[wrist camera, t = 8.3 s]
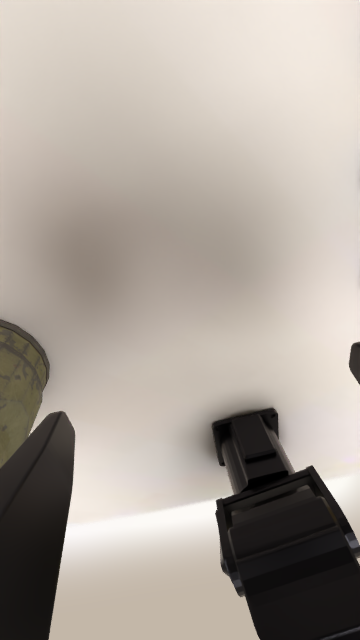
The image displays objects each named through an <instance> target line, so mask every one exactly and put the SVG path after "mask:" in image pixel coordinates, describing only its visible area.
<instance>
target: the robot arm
mask: <svg viewBox="0 0 360 640" xmlns="http://www.w3.org/2000/svg"><path fill="white" fill-rule="evenodd" d="M349 367H350V370H351V372H352V374H353V375H354V377H355V378H356V380H357V381H358V383H359V384H360V342H356V343H354V344H353V345H352V346H351V353H350V360H349ZM212 429H213V434H214V440H215V445H216V450H217V455H218V460H219V464H220V466H226V469H227V472H228V476H229V479H230V482H231V486H232V489H233V493H234V495H232V496H230V497H227V498H224V499H222V498H220V499H218V500H216V504H217V510H216V513H215V514H216V518H217V523H218V528H219V535H220V554H221V555H220V556H221V567H222V570H223V572H224V573H225V574H227V575H228V576H229V577H230V579H231V581H232V583H233V584H234V587H235V589H236V591H237V593H238V595H239V596H240V597H243V596H245V597H246V600H247V603H248V607H249V610H250V613H251V617H252V620H253V623H254V626H255V629H256V631H257V635H258V637H259V638H260V640H360V565H359V563H358V561H357V558H360V545H359V543H358V540H357V538H356V536H355V534H354V532H353V530H352V528H351V526H350V524H349V522H348V520H347V519H346V517H345V515H344V514H343V512H342V510H341V508H340V507H339V505H338V503H337V502H336V501H335V499H334V498H333V496H332V494H331V493H330V491H329V490H328V488H327V487H326V485H325V484H324V482H323V481H322V479H321V478H320V476H319V475H318V473H317V472H316V470H315V469H314V467H313V466H309V467H306V469H304V470H301V471H299V472H296V473H295V471H294V469H293V467H292V465H291V463H290V461H289V459H288V457H287V455H286V453H285V451H284V449H283V447H282V446H281V444H280V442H279V437H278V413H277V412H276V410H275V409H269V410H265V411H261V412H257V413H253V414H248V415H244V416H240V417H236V418H232V419H227V420H223V421H219V422H215V423H214V424H213V425H212ZM74 450H75V431H74V428H73V426H72V424H71V422H70V421H69V419H68V417H67V415H66V413H65V412H63V411H59V412H54V413H51V414H49V415H48V416H47V417H46V418H45V419H44V420H43V421H42V422H41V423H40V424H39V426H38V427H37V428H36V429H35V430H34V431H33V432H32V433H31V435H30V436H29V437H28V438H27V439H26V440H25V441H24V442H23V443H22V445H21V446H20V447H19V448H18V449H17V450H16V451H15V452H14V453H13V455H12V456H11V457H10V458H9V459H8V460H7V461H6V462H5V464H4V465H3V466H2V467H1V468H0V640H48V639H49V633H50V626H51V620H52V613H53V608H54V601H55V595H56V589H57V582H58V576H59V569H60V563H61V557H62V551H63V544H64V538H65V532H66V526H67V519H68V513H69V507H70V500H71V494H72V486H73V470H74Z"/></svg>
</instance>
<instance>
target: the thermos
mask: <svg viewBox="0 0 360 640" xmlns="http://www.w3.org/2000/svg"><path fill="white" fill-rule="evenodd" d="M48 379H49V362H48V359H47V357H46V354H45V352H44V350H43V349H42V347H41V346H40V345H39V344H38V343H37V341H36V340H35V339H34V338H33V337H32V336H31V335H29V334H28V333H26V332H25V331H23V330H22V329H20V328H19V327H17V326H16V325H13V324H10V323H8V322H5V321H2V320H0V468H1V467H2V466H3V465H4V464H5V462H6V461H7V460H8V459H9V458H10V457H11V456H12V455H13V453H14V452H15V451H16V450H17V449H18V448H19V447H20V446H21V445H22V443H23V442H24V441H25V440H26V439H27V438H28V436H29V434H30V431H31V428H32V426H33V423H34V421H35V418H36V416H37V413H38V410H39V408H40V405H41V403H42V392H43V390H44V388H45V386H46V384H47V381H48Z"/></svg>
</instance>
